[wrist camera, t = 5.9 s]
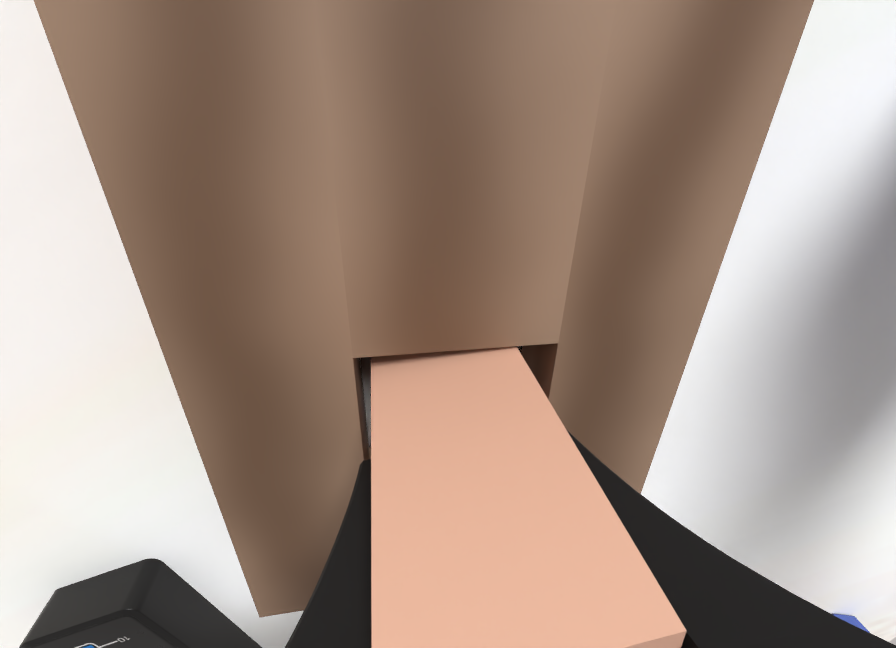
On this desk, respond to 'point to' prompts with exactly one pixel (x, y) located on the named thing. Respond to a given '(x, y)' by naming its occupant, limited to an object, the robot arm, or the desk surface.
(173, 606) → the multiport hub
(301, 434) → the pin plate
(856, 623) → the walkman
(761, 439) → the desk surface
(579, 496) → the pin
